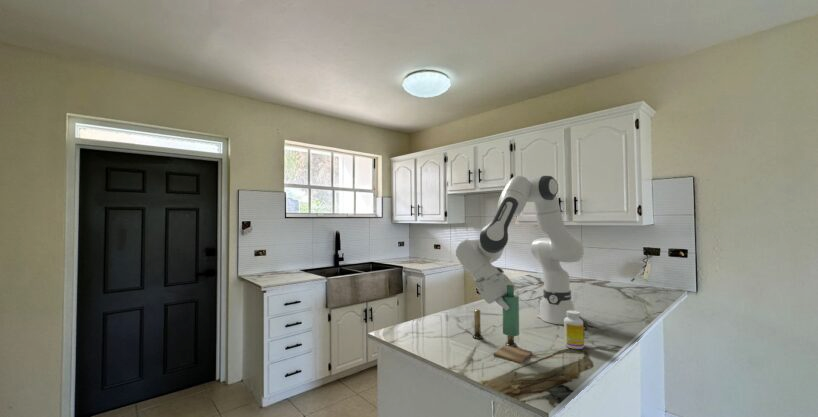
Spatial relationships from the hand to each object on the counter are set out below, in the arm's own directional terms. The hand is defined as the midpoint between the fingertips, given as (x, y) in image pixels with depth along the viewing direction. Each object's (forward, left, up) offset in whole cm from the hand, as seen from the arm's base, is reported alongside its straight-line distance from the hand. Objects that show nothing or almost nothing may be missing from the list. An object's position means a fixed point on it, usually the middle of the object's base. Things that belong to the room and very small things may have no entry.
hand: (512, 307), depth 118 cm
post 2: (-8, -4, -17) cm, 19 cm away
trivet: (0, 0, -17) cm, 17 cm away
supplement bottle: (-22, +15, -17) cm, 31 cm away
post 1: (-8, -18, -17) cm, 26 cm away
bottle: (0, -1, -9) cm, 9 cm away
